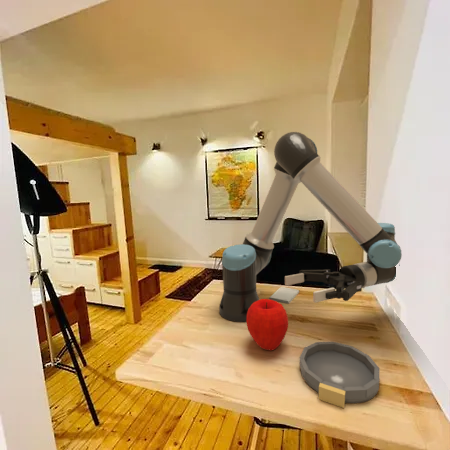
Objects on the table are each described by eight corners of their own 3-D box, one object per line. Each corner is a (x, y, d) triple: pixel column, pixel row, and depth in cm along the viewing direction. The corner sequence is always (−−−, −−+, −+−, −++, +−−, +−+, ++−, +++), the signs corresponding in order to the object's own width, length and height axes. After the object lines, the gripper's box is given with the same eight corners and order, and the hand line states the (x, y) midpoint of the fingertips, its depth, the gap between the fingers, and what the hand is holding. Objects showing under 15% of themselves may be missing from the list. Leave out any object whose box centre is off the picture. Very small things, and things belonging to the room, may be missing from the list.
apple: (241, 337, 80) (240, 295, 78) (277, 331, 83) (277, 290, 81) (254, 363, 69) (253, 314, 67) (296, 355, 72) (296, 308, 69)
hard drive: (288, 301, 101) (299, 289, 111) (268, 297, 106) (280, 286, 116) (288, 305, 101) (299, 293, 112) (268, 301, 106) (280, 289, 116)
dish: (290, 389, 60) (290, 377, 59) (309, 345, 75) (309, 335, 75) (378, 420, 51) (379, 406, 51) (379, 364, 67) (379, 353, 66)
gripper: (392, 303, 73) (329, 320, 66) (328, 275, 96) (276, 286, 89) (393, 276, 71) (329, 291, 64) (328, 255, 95) (275, 264, 88)
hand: (298, 288), depth 77 cm, fingers open, 13 cm apart
